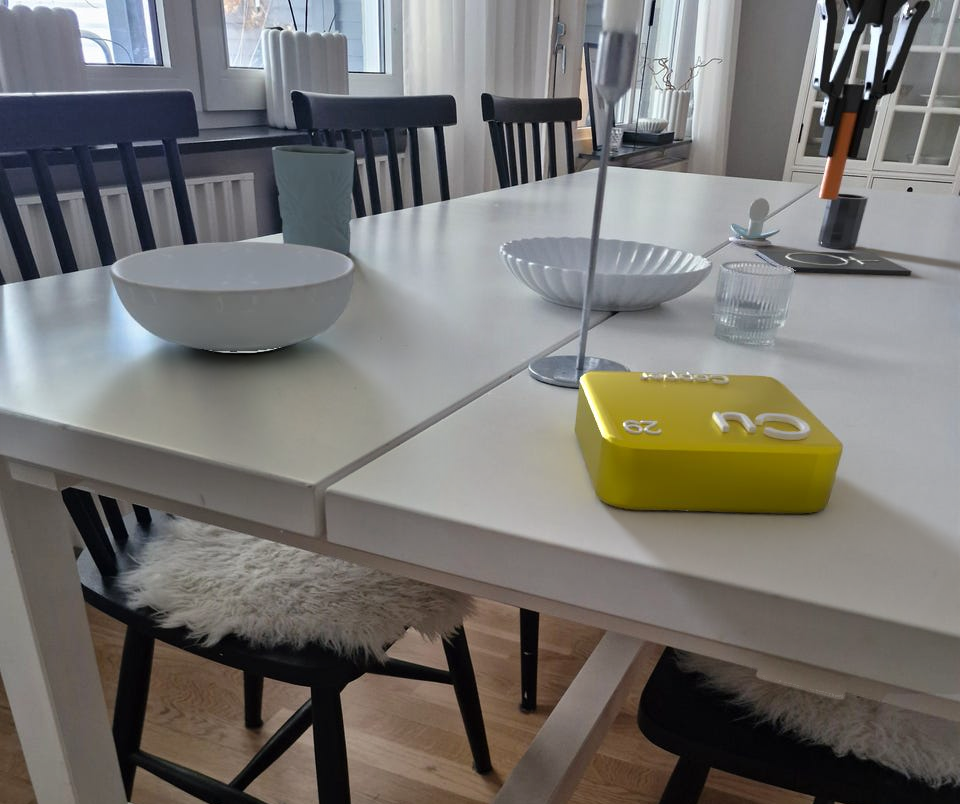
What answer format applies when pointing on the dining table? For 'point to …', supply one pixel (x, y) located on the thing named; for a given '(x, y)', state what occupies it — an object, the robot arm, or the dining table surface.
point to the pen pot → (842, 221)
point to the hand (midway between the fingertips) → (837, 156)
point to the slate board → (833, 262)
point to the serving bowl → (235, 293)
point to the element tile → (703, 443)
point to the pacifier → (754, 226)
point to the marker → (842, 142)
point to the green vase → (315, 195)
